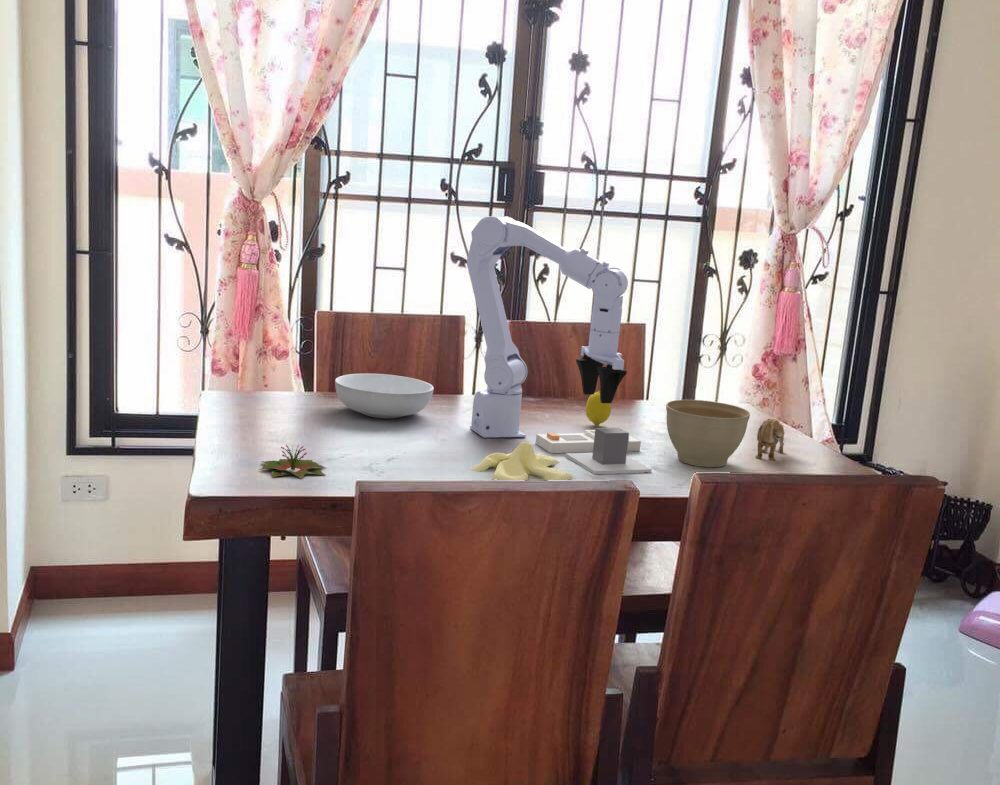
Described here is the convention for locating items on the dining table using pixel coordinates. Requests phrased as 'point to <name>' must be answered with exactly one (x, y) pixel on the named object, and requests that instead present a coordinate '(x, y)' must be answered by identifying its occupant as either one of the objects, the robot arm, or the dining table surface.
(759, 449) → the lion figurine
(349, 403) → the serving bowl
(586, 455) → the mat
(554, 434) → the power strip
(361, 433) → the dining table surface
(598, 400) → the lemon
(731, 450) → the planter bowl
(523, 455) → the banana peel
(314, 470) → the lily flower
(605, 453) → the block
